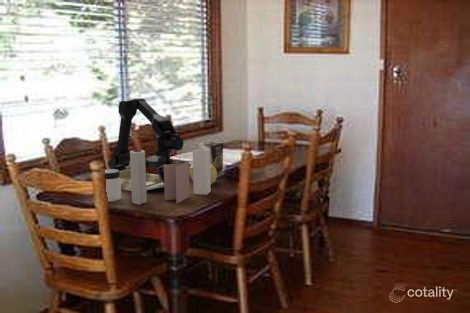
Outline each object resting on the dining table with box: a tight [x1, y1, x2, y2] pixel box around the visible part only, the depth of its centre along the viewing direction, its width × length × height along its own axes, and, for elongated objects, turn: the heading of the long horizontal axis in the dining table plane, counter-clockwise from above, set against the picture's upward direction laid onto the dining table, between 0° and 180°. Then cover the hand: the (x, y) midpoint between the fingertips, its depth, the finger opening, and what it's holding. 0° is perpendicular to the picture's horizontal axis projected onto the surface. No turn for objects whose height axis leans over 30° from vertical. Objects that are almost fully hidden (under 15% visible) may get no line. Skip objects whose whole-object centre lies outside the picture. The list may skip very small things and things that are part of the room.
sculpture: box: [189, 163, 218, 185], centre depth 271 cm, size 12×12×11 cm
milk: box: [192, 141, 212, 196], centre depth 254 cm, size 6×6×22 cm
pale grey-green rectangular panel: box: [146, 182, 164, 191], centre depth 262 cm, size 1×15×10 cm
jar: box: [104, 168, 122, 202], centre depth 246 cm, size 9×8×12 cm
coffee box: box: [203, 142, 224, 178], centre depth 287 cm, size 9×6×16 cm
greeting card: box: [163, 161, 190, 204], centre depth 243 cm, size 11×7×15 cm, turn 123°
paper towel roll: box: [129, 149, 148, 206], centre depth 239 cm, size 7×6×21 cm
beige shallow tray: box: [119, 167, 161, 192], centre depth 268 cm, size 14×16×7 cm
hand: (164, 183), depth 261 cm, fingers closed
